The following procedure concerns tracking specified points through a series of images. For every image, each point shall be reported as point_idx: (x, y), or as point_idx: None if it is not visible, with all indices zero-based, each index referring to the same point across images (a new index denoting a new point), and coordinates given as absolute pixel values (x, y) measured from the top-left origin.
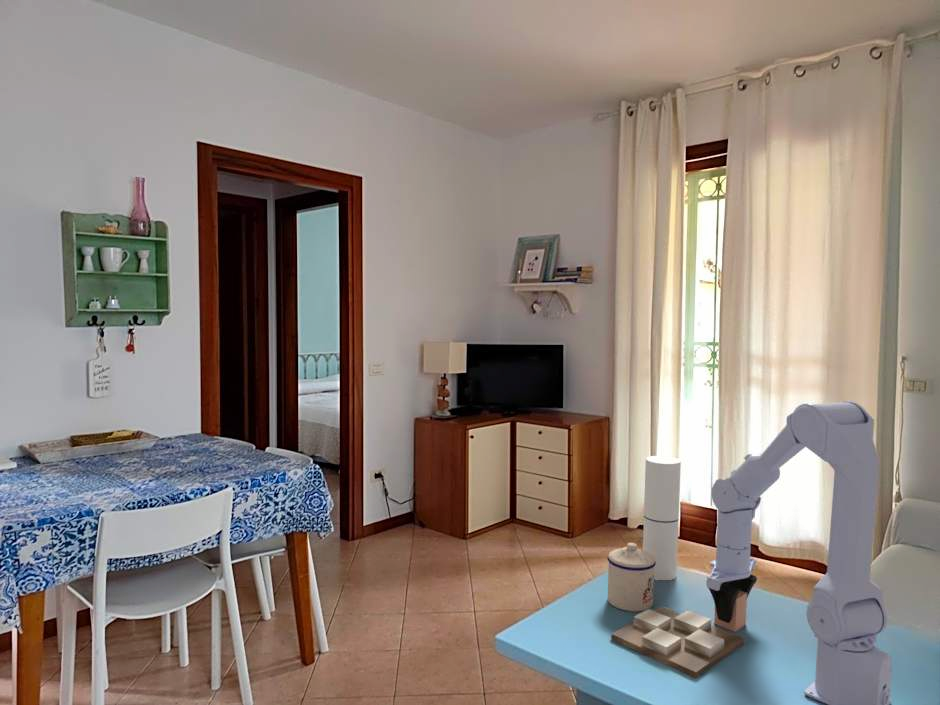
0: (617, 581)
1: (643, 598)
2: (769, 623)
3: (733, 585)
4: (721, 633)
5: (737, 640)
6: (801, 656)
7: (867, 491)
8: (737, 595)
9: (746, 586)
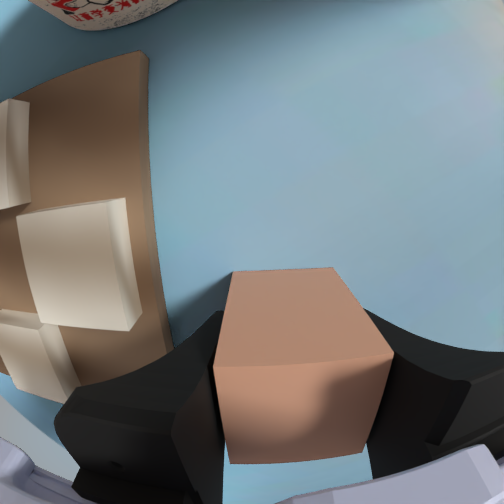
0: None
1: (65, 13)
2: None
3: (395, 403)
4: (139, 357)
5: None
6: (256, 474)
7: None
8: (285, 451)
9: (376, 473)
